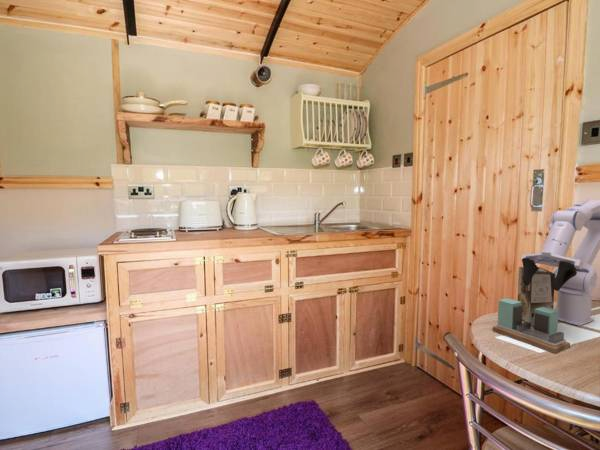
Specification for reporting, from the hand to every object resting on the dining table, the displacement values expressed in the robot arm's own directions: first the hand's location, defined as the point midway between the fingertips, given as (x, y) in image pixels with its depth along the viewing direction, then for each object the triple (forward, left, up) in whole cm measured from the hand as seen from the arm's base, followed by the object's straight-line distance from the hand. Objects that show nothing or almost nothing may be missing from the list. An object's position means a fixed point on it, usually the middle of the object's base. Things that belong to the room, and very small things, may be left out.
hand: (539, 286), depth 93 cm
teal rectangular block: (-2, +1, -14) cm, 14 cm away
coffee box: (-10, -6, -14) cm, 18 cm away
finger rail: (+5, 0, -14) cm, 15 cm away
